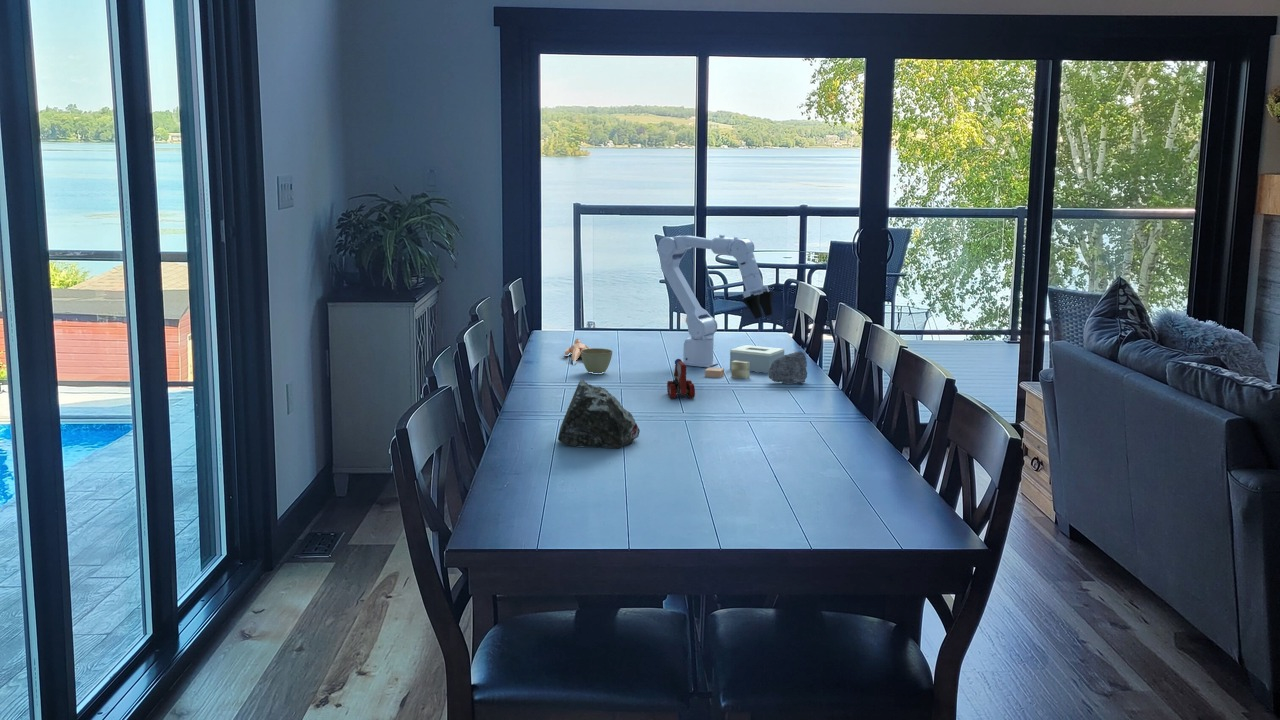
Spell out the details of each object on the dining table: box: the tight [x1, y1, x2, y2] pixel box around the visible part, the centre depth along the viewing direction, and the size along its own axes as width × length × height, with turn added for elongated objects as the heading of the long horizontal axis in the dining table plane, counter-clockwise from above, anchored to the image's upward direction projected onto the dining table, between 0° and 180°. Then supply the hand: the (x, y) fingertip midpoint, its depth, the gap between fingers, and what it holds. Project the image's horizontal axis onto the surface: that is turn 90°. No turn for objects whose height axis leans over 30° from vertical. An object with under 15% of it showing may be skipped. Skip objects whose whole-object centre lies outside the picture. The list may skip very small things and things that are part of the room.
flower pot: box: [580, 347, 613, 373], centre depth 341 cm, size 10×10×7 cm
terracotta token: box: [704, 366, 725, 379], centre depth 339 cm, size 5×5×2 cm
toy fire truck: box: [666, 358, 696, 400], centre depth 308 cm, size 7×12×10 cm, turn 6°
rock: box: [767, 350, 808, 384], centre depth 328 cm, size 12×5×10 cm, turn 87°
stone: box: [557, 379, 641, 449], centre depth 255 cm, size 19×18×15 cm
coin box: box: [729, 344, 785, 374], centre depth 351 cm, size 14×11×6 cm
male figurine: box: [563, 338, 591, 362], centre depth 368 cm, size 11×5×25 cm
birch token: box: [730, 360, 750, 380], centre depth 336 cm, size 5×2×5 cm, turn 58°
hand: (764, 316), depth 343 cm, fingers open, 7 cm apart
